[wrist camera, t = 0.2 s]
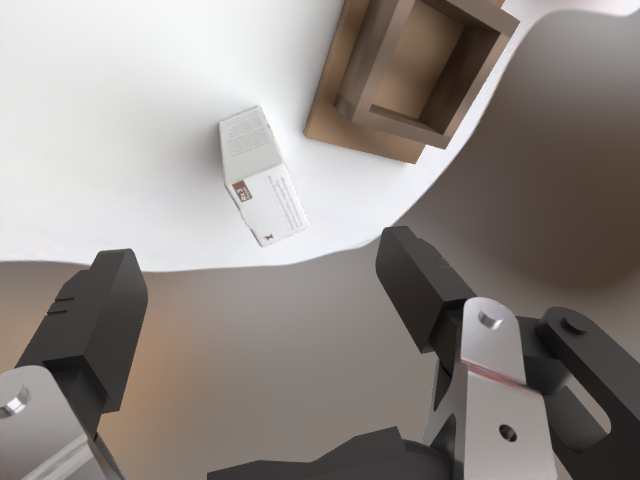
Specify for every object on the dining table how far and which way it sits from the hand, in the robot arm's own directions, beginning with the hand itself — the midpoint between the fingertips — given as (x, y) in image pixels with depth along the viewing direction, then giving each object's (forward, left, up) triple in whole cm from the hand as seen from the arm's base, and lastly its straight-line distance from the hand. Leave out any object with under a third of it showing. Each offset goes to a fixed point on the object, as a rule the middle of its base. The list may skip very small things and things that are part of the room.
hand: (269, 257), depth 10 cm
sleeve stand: (-7, +15, -22) cm, 28 cm away
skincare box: (+4, +3, -22) cm, 23 cm away
